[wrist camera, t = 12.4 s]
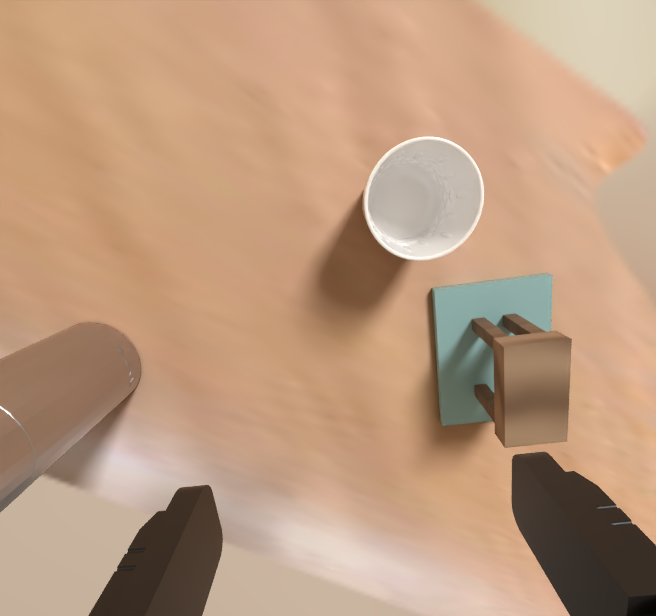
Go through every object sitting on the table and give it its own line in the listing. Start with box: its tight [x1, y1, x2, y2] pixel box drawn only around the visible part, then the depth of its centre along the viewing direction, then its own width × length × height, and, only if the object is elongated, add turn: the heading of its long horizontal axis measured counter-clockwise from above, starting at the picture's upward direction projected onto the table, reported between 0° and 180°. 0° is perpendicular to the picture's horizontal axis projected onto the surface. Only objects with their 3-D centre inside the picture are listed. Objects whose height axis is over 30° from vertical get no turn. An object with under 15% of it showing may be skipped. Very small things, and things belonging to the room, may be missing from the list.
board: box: [432, 273, 552, 426], centre depth 37 cm, size 11×15×1 cm
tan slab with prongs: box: [472, 313, 572, 448], centre depth 33 cm, size 9×5×8 cm, turn 8°
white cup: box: [362, 137, 484, 261], centre depth 29 cm, size 8×8×10 cm
